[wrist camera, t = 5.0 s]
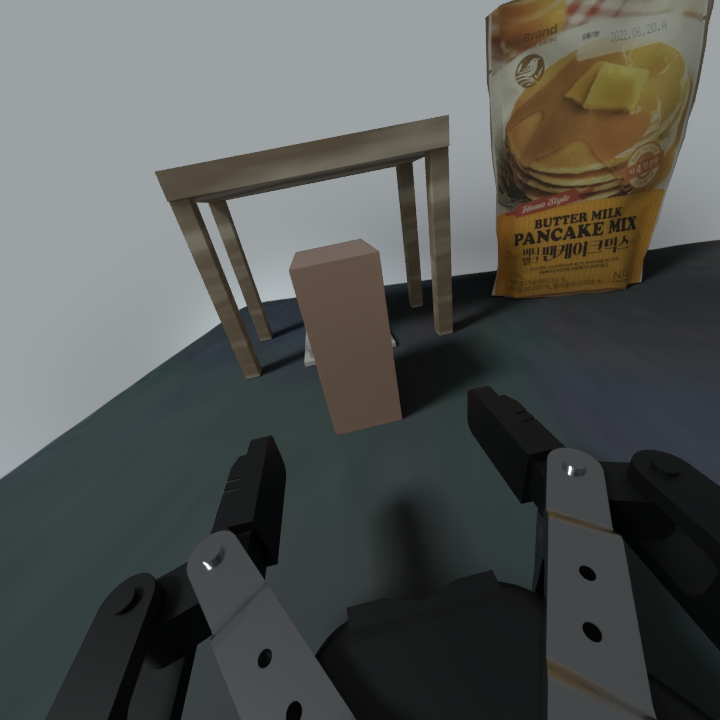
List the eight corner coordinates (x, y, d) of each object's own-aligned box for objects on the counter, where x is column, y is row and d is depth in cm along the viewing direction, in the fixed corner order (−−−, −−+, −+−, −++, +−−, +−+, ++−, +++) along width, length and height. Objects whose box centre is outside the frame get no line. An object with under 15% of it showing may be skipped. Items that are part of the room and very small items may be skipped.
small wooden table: (453, 333, 32) (448, 114, 23) (245, 380, 31) (154, 171, 22) (419, 302, 43) (406, 143, 34) (262, 336, 42) (205, 182, 33)
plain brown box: (402, 419, 22) (379, 251, 16) (336, 435, 22) (288, 270, 16) (382, 372, 28) (360, 238, 22) (331, 384, 28) (295, 252, 22)
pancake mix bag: (476, 288, 44) (481, 22, 30) (633, 272, 38) (723, -59, 25) (482, 304, 38) (490, -14, 25) (666, 288, 33) (805, -129, 19)
